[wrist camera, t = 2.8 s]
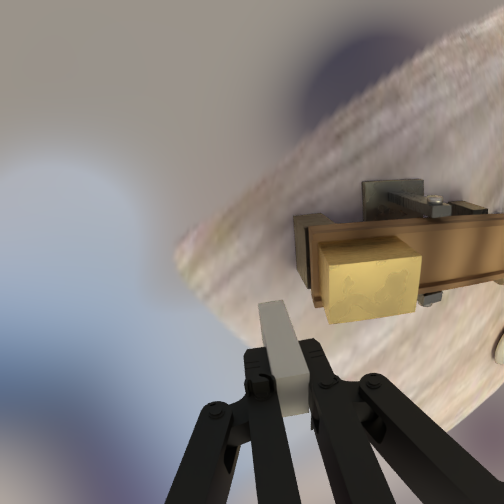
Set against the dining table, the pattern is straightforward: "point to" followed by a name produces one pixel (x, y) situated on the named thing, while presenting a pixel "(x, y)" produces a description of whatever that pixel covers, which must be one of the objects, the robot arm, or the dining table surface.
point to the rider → (367, 278)
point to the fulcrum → (385, 217)
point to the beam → (429, 248)
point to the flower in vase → (500, 352)
